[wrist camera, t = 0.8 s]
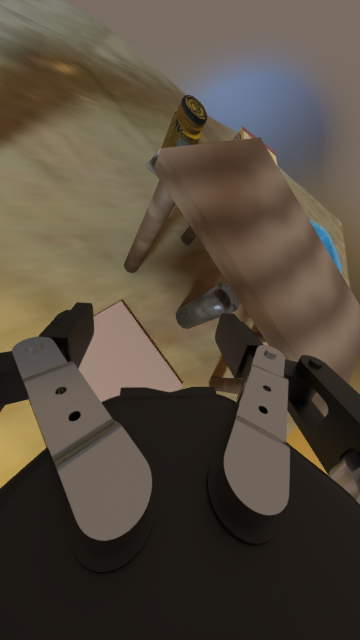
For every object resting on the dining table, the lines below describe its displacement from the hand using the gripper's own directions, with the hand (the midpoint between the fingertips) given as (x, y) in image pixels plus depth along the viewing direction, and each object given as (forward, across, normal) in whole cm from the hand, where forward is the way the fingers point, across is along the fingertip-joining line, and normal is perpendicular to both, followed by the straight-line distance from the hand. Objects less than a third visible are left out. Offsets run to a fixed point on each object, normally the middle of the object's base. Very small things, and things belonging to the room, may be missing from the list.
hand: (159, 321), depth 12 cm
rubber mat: (+11, +5, +16) cm, 21 cm away
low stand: (+24, -10, +10) cm, 28 cm away
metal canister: (+22, -7, +11) cm, 25 cm away
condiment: (+45, -2, -15) cm, 48 cm away
